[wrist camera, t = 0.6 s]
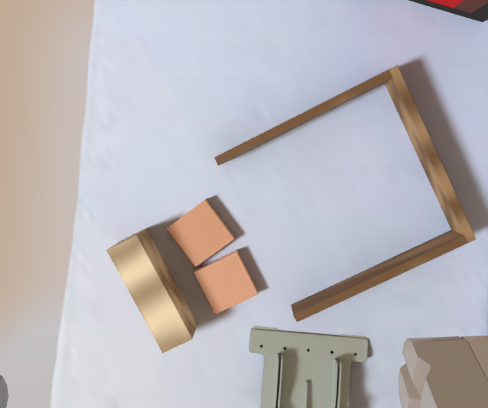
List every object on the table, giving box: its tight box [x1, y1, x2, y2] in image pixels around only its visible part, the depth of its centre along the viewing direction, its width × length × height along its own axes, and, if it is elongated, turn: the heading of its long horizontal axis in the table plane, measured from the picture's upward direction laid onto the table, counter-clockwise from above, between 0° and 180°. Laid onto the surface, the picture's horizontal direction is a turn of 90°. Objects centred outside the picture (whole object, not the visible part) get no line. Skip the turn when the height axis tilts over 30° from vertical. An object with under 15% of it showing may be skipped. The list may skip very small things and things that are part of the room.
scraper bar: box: [107, 228, 197, 353], centre depth 56 cm, size 14×4×5 cm, turn 27°
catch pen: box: [214, 65, 476, 322], centre depth 54 cm, size 22×23×4 cm
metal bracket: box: [249, 326, 368, 408], centre depth 58 cm, size 14×6×15 cm
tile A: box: [194, 250, 258, 314], centre depth 57 cm, size 6×6×2 cm
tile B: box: [166, 199, 235, 267], centre depth 57 cm, size 6×6×2 cm
